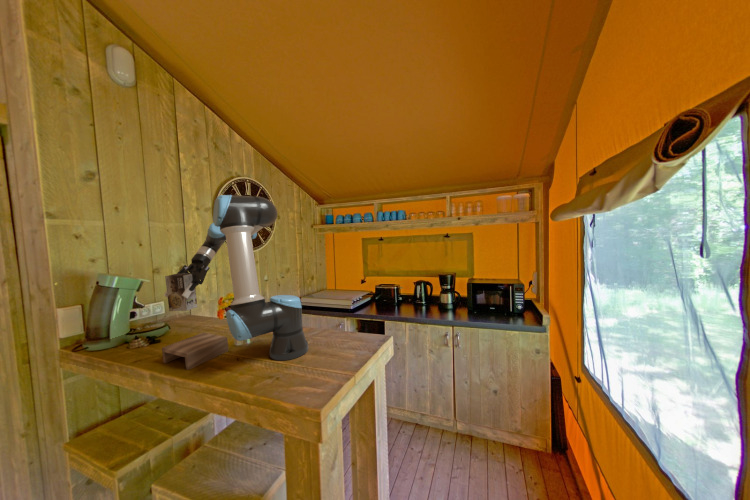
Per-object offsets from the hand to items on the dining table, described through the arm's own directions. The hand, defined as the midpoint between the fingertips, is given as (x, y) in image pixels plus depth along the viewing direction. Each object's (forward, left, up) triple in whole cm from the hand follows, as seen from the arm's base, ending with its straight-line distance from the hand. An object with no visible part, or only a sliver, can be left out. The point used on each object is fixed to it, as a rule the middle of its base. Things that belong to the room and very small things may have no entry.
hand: (175, 296), depth 116 cm
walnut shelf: (-18, +4, -23) cm, 30 cm away
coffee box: (+1, -3, -7) cm, 7 cm away
